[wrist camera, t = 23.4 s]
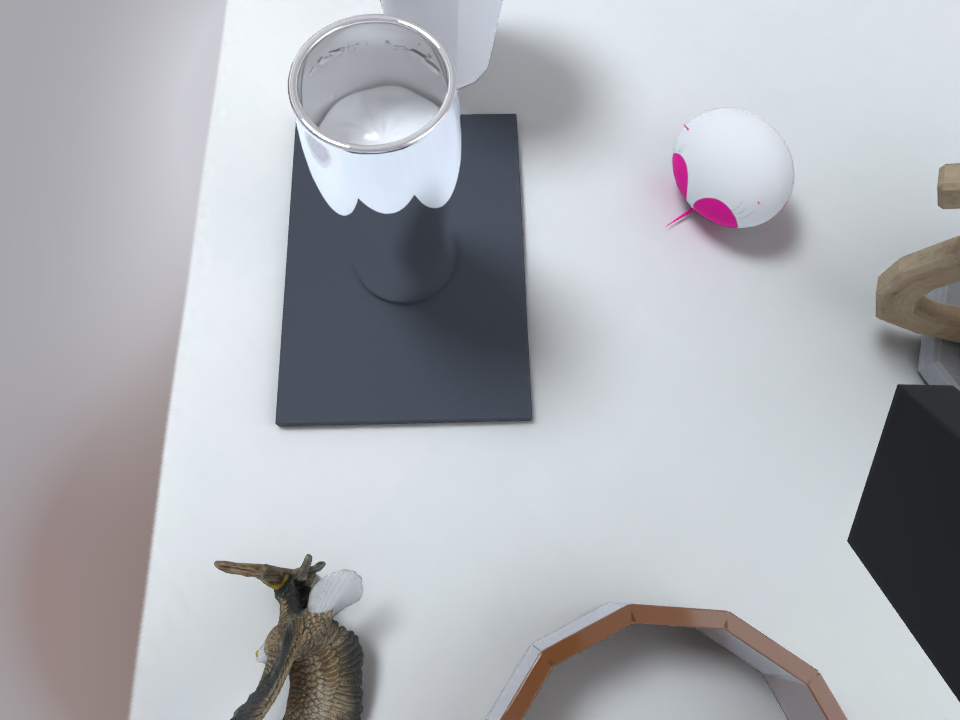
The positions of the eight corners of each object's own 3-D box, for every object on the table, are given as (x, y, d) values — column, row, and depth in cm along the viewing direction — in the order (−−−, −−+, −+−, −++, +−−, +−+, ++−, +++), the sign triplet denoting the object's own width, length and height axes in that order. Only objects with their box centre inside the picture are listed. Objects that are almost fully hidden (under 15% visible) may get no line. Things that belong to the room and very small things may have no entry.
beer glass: (456, 199, 43) (450, 0, 28) (471, 303, 40) (473, 145, 26) (342, 212, 42) (277, 17, 28) (351, 318, 40) (286, 165, 26)
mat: (531, 420, 39) (532, 418, 38) (277, 426, 39) (275, 424, 38) (515, 119, 45) (516, 113, 45) (298, 122, 45) (295, 116, 44)
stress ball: (644, 196, 47) (613, 173, 42) (741, 105, 44) (722, 67, 39) (717, 279, 45) (695, 268, 39) (824, 190, 42) (818, 163, 36)
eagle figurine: (192, 580, 35) (174, 791, 30) (234, 540, 30) (219, 785, 25) (337, 583, 39) (338, 770, 34) (395, 548, 34) (406, 761, 29)
